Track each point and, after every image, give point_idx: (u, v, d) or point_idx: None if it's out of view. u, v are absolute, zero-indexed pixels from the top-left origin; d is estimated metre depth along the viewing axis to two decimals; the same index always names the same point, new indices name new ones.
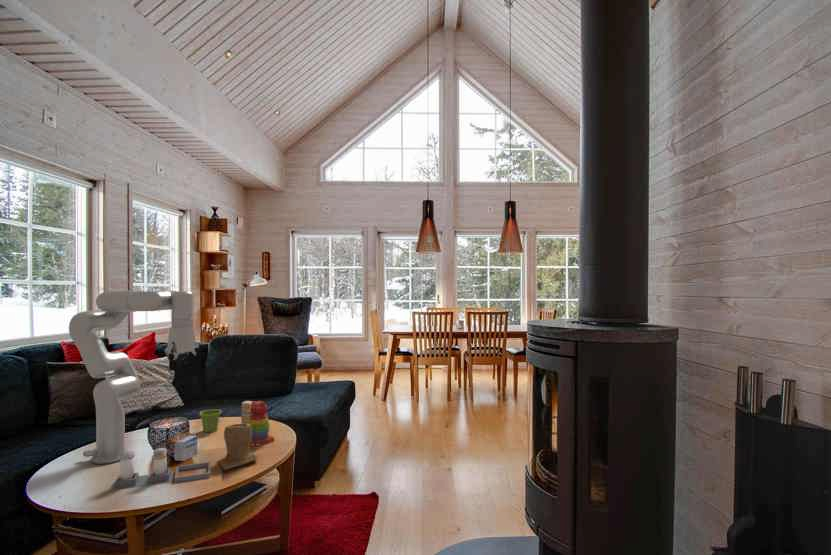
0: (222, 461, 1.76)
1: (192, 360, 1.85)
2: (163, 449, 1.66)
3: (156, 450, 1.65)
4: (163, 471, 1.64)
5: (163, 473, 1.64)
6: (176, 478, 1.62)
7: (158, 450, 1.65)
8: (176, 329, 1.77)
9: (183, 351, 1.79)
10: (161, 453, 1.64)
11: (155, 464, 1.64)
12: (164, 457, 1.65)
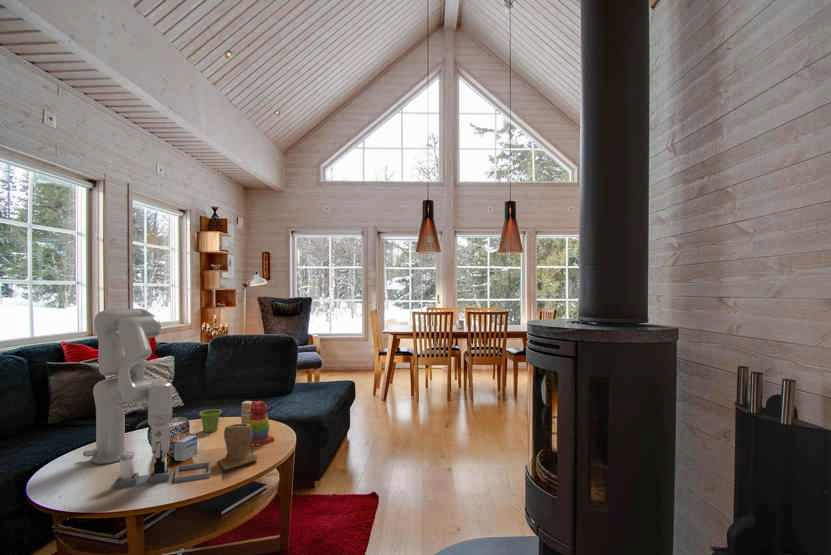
0: (222, 461, 1.76)
1: None
2: None
3: None
4: None
5: (163, 473, 1.64)
6: (176, 478, 1.62)
7: None
8: None
9: None
10: None
11: None
12: (164, 457, 1.65)
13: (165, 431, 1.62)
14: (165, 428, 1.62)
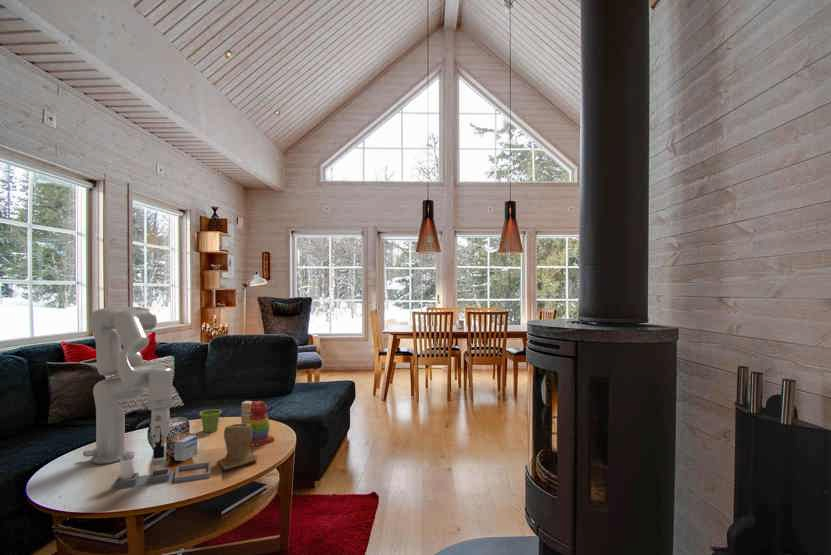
0: (222, 461, 1.76)
1: None
2: None
3: None
4: None
5: (162, 458, 1.65)
6: (176, 478, 1.62)
7: None
8: None
9: None
10: None
11: None
12: (164, 442, 1.65)
13: (165, 416, 1.62)
14: (165, 413, 1.63)
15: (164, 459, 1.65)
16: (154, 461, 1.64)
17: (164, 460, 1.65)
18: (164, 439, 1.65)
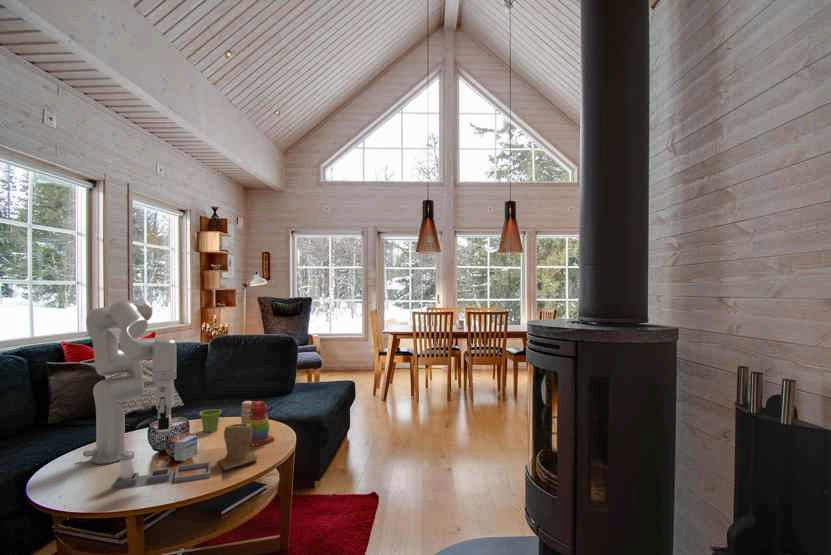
0: (222, 461, 1.76)
1: None
2: None
3: None
4: None
5: (167, 429, 1.65)
6: (176, 478, 1.62)
7: None
8: None
9: None
10: None
11: None
12: (168, 413, 1.65)
13: (169, 387, 1.63)
14: (169, 384, 1.63)
15: (169, 431, 1.66)
16: (159, 433, 1.64)
17: (169, 432, 1.65)
18: (169, 411, 1.66)
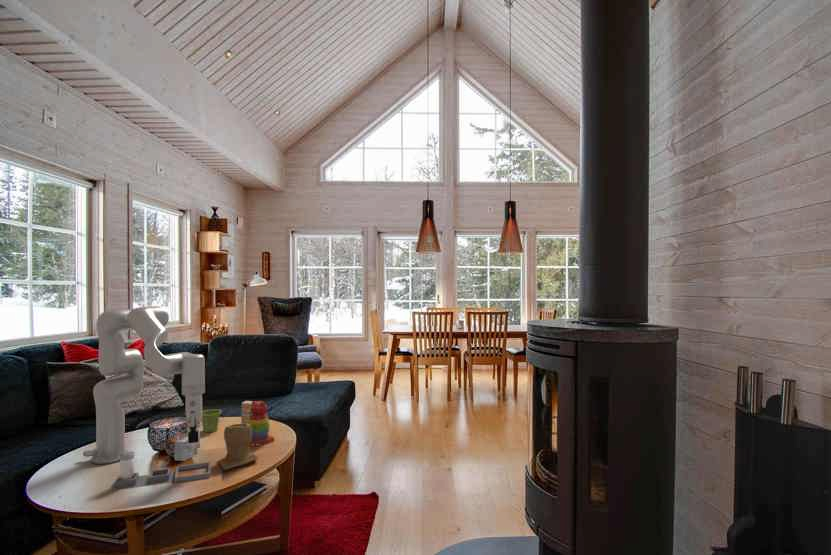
0: (222, 461, 1.76)
1: None
2: None
3: None
4: None
5: (197, 442, 1.68)
6: (176, 478, 1.62)
7: None
8: None
9: None
10: None
11: None
12: (198, 427, 1.69)
13: (199, 401, 1.66)
14: (199, 398, 1.66)
15: (198, 444, 1.69)
16: (189, 446, 1.68)
17: (198, 445, 1.69)
18: (198, 424, 1.69)
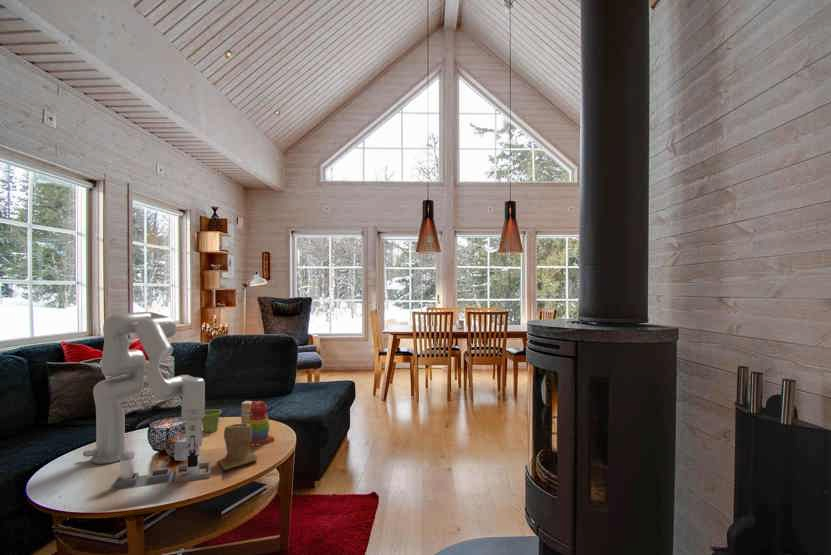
0: (222, 461, 1.76)
1: None
2: None
3: None
4: (196, 469, 1.69)
5: (196, 471, 1.69)
6: (176, 478, 1.62)
7: None
8: None
9: None
10: None
11: None
12: None
13: (199, 425, 1.66)
14: (199, 422, 1.66)
15: (197, 472, 1.69)
16: (188, 474, 1.68)
17: None
18: (197, 453, 1.69)
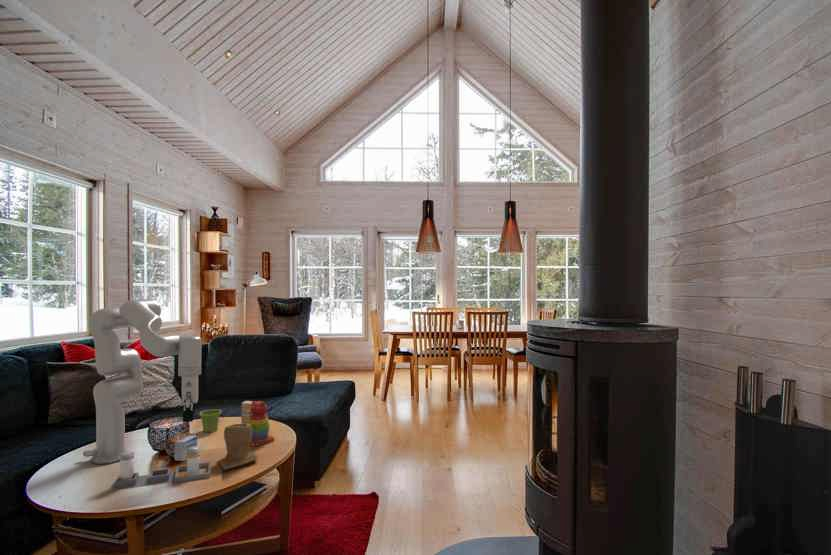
0: (222, 461, 1.76)
1: None
2: (196, 448, 1.70)
3: (189, 449, 1.69)
4: (196, 469, 1.68)
5: (196, 471, 1.68)
6: (176, 478, 1.62)
7: (191, 449, 1.69)
8: None
9: None
10: (195, 451, 1.68)
11: (188, 462, 1.68)
12: (197, 456, 1.69)
13: (195, 382, 1.68)
14: (195, 379, 1.68)
15: (197, 473, 1.69)
16: None
17: None
18: (197, 453, 1.69)
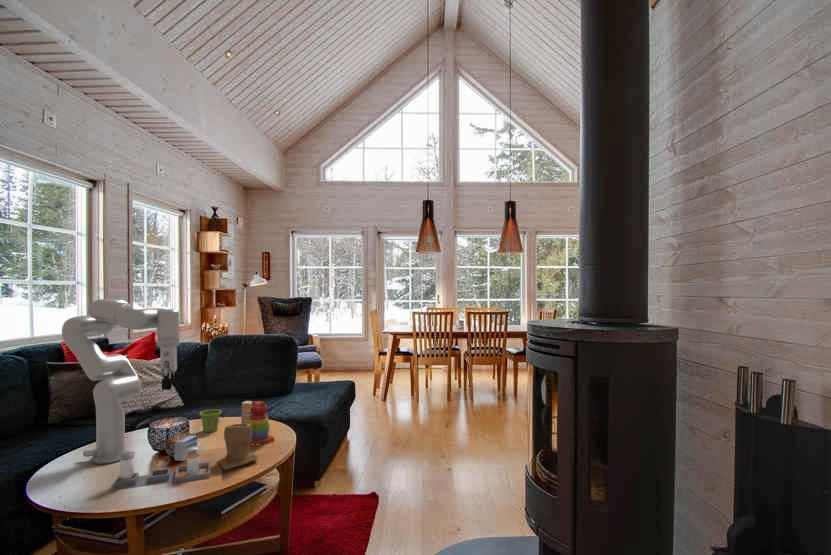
0: (222, 461, 1.76)
1: None
2: (196, 448, 1.70)
3: (189, 449, 1.69)
4: (196, 469, 1.68)
5: (196, 471, 1.68)
6: (176, 478, 1.62)
7: (191, 449, 1.69)
8: None
9: (162, 368, 1.81)
10: (195, 451, 1.68)
11: (188, 462, 1.68)
12: (197, 456, 1.69)
13: (173, 352, 1.77)
14: (173, 349, 1.77)
15: (197, 473, 1.69)
16: None
17: None
18: (197, 453, 1.69)
